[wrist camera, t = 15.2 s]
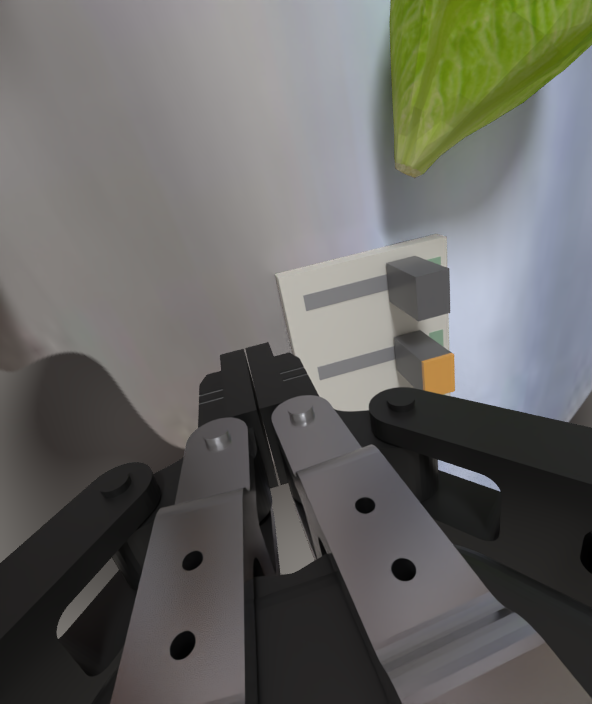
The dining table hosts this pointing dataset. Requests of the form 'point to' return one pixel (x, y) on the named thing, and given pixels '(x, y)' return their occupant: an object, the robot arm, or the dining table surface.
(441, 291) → the block
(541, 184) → the dining table surface
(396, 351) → the block
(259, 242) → the dining table surface
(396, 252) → the breaker panel
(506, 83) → the lettuce
